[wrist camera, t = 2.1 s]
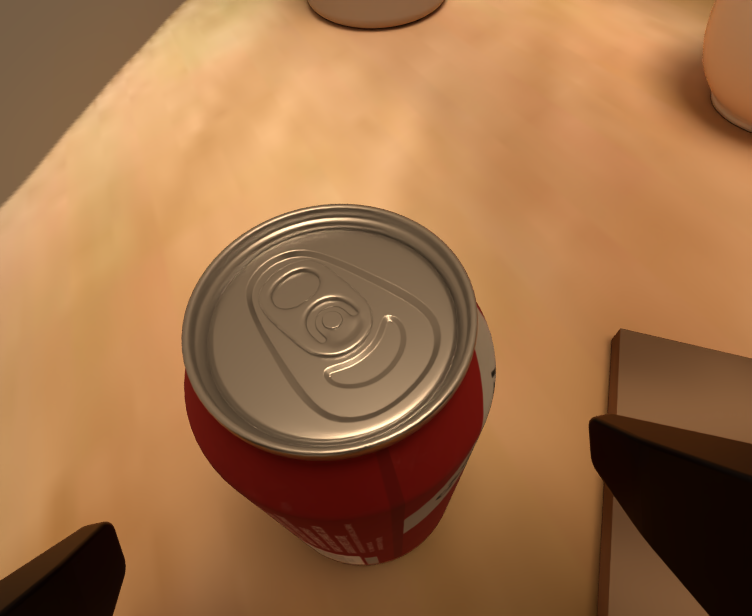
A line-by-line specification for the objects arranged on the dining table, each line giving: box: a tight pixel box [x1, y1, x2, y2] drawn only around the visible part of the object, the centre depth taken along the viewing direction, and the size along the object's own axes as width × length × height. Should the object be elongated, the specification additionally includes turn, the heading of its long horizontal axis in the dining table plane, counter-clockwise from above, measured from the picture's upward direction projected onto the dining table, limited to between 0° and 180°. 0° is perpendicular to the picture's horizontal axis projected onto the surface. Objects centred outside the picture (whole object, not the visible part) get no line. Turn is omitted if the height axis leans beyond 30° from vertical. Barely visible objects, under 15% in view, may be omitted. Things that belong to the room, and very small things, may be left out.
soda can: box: [182, 204, 496, 565], centre depth 14 cm, size 7×7×12 cm
